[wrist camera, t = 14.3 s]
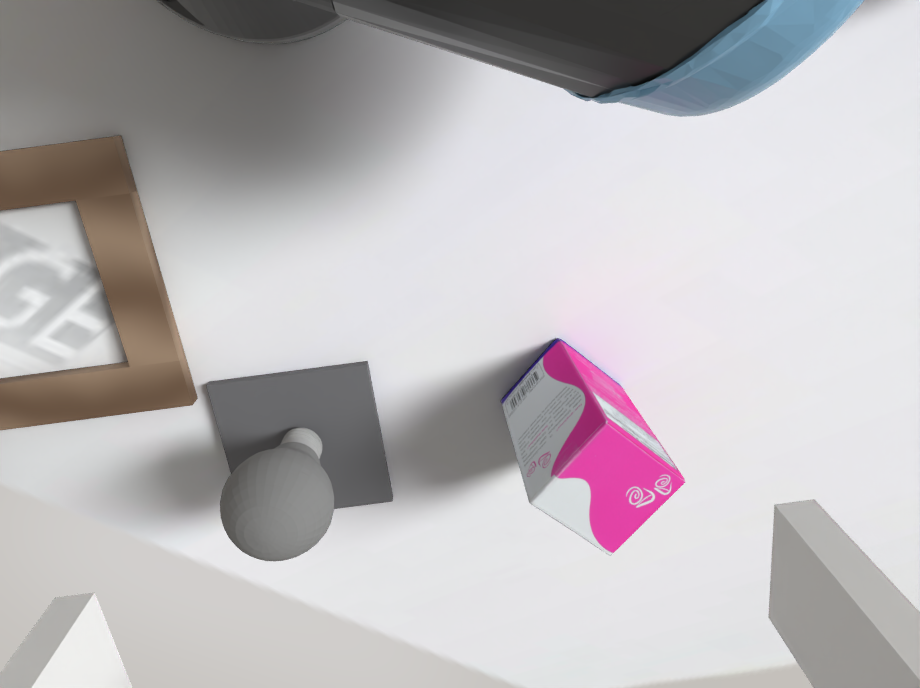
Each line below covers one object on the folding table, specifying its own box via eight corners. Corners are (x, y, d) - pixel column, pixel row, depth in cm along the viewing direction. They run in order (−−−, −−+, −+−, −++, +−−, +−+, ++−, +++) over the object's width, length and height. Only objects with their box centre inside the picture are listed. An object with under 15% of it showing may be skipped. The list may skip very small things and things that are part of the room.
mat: (209, 381, 42) (206, 385, 42) (367, 361, 42) (366, 364, 42) (246, 515, 46) (244, 520, 45) (392, 496, 46) (392, 501, 45)
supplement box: (566, 449, 45) (608, 562, 34) (498, 400, 44) (521, 502, 33) (626, 386, 44) (690, 484, 33) (558, 333, 42) (602, 417, 31)
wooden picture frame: (-169, 173, 37) (-185, 175, 36) (120, 135, 37) (113, 136, 36) (-54, 430, 43) (-64, 438, 42) (197, 398, 43) (192, 405, 42)
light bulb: (353, 481, 44) (329, 584, 35) (262, 484, 44) (213, 588, 35) (346, 398, 42) (318, 483, 33) (250, 401, 42) (195, 487, 33)
